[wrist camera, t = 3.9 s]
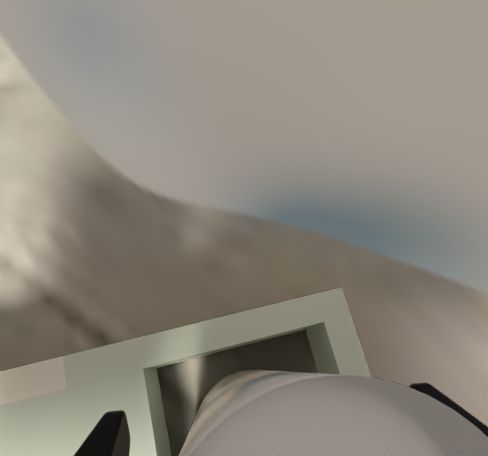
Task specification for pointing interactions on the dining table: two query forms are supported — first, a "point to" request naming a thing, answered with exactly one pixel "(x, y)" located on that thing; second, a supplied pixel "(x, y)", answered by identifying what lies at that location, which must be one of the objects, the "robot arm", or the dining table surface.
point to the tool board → (156, 375)
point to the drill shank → (326, 418)
